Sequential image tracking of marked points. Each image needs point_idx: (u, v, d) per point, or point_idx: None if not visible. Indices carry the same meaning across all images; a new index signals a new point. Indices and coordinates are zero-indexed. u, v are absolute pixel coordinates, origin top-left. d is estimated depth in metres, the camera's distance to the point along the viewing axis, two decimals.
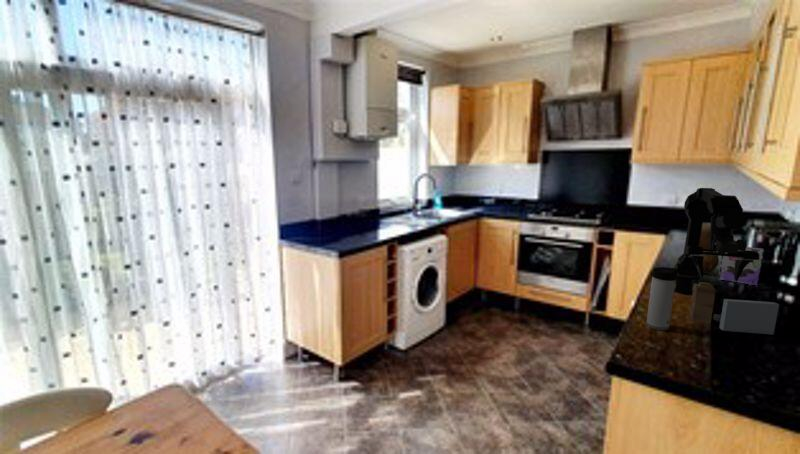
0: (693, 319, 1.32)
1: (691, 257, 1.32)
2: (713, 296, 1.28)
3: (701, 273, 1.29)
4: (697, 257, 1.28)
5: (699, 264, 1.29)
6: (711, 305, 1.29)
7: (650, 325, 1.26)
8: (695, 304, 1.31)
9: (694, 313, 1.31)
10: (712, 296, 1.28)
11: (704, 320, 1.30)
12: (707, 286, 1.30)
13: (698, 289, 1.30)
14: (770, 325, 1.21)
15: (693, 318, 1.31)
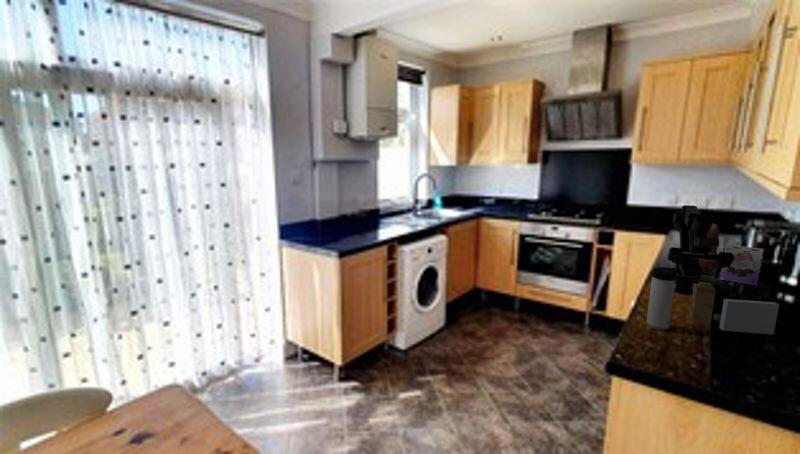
0: (693, 319, 1.32)
1: (674, 260, 1.45)
2: (713, 296, 1.28)
3: (684, 270, 1.40)
4: (678, 255, 1.42)
5: (681, 262, 1.41)
6: (711, 305, 1.29)
7: (650, 325, 1.26)
8: (695, 304, 1.31)
9: (694, 313, 1.31)
10: (712, 296, 1.28)
11: (704, 320, 1.30)
12: (707, 286, 1.30)
13: (698, 289, 1.30)
14: (770, 325, 1.21)
15: (693, 318, 1.31)
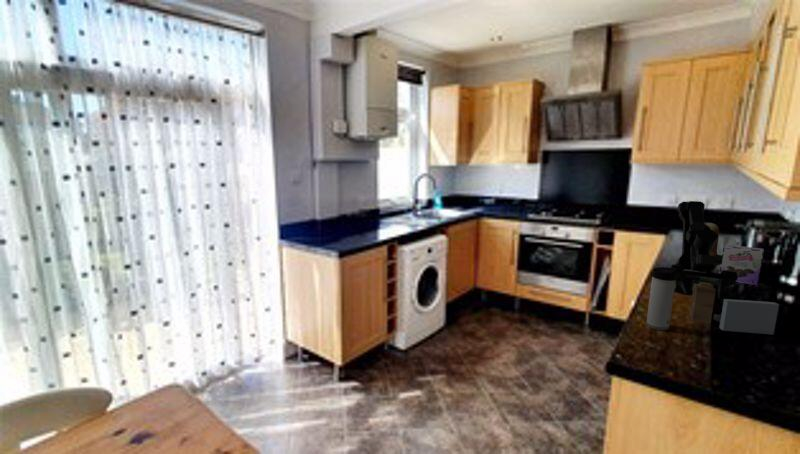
0: (693, 319, 1.32)
1: None
2: (713, 296, 1.28)
3: (685, 289, 1.34)
4: (680, 273, 1.36)
5: (682, 280, 1.36)
6: (711, 305, 1.29)
7: (650, 325, 1.26)
8: (695, 304, 1.31)
9: (694, 313, 1.31)
10: (712, 296, 1.28)
11: (704, 320, 1.30)
12: (707, 286, 1.30)
13: (698, 289, 1.30)
14: (770, 325, 1.21)
15: (693, 318, 1.31)
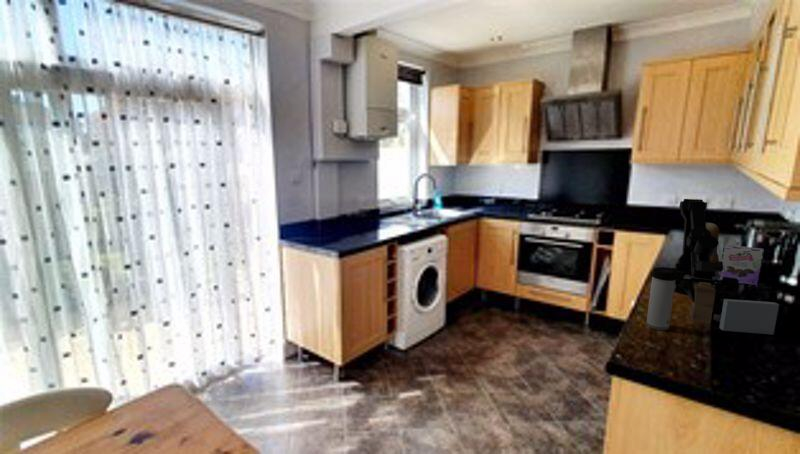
0: (693, 319, 1.32)
1: (682, 285, 1.37)
2: (713, 296, 1.28)
3: (692, 297, 1.32)
4: (687, 280, 1.34)
5: (690, 288, 1.33)
6: (711, 305, 1.29)
7: (650, 325, 1.26)
8: (695, 304, 1.31)
9: (694, 313, 1.31)
10: (712, 296, 1.28)
11: (704, 320, 1.30)
12: (707, 286, 1.30)
13: (698, 289, 1.30)
14: (770, 325, 1.21)
15: (693, 318, 1.31)
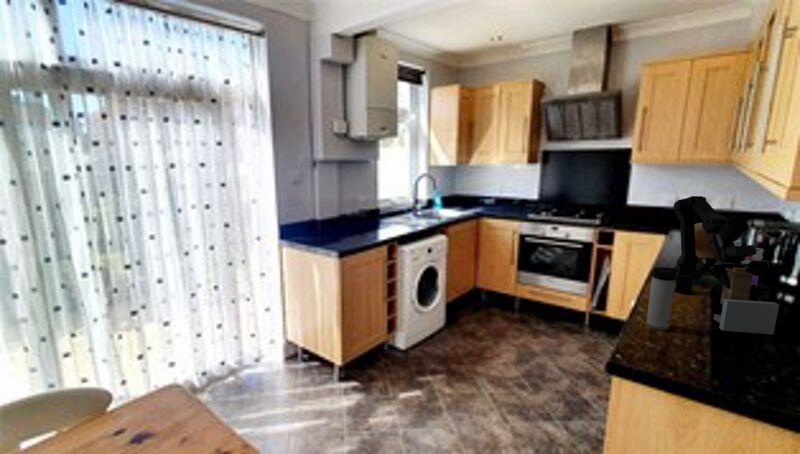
0: None
1: (712, 272, 1.31)
2: (750, 281, 1.23)
3: (728, 283, 1.26)
4: (720, 266, 1.28)
5: (723, 274, 1.28)
6: (748, 291, 1.24)
7: (650, 325, 1.26)
8: (732, 291, 1.25)
9: None
10: (749, 281, 1.23)
11: None
12: (742, 271, 1.25)
13: (735, 275, 1.24)
14: (770, 325, 1.21)
15: None
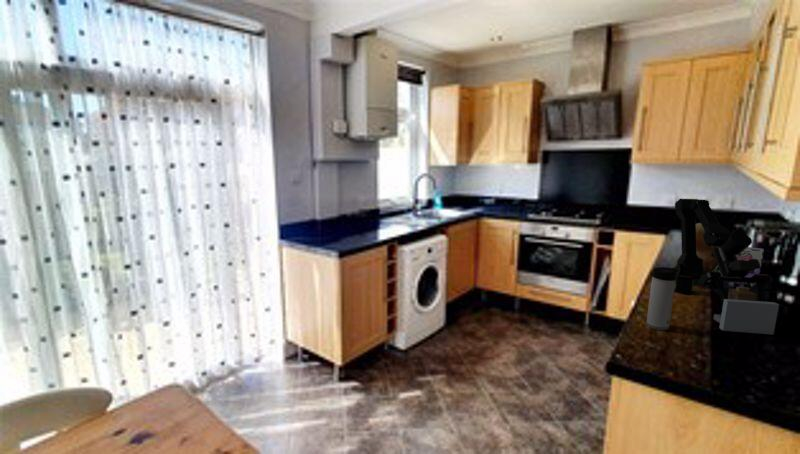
0: None
1: (709, 285, 1.32)
2: None
3: (726, 297, 1.27)
4: (718, 280, 1.28)
5: (721, 288, 1.28)
6: None
7: (650, 325, 1.26)
8: None
9: None
10: None
11: None
12: (745, 290, 1.26)
13: (739, 294, 1.24)
14: (770, 325, 1.21)
15: None
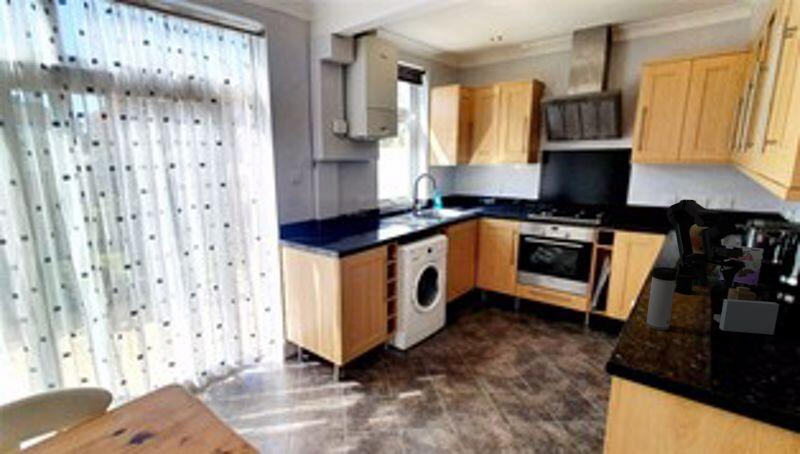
0: None
1: (692, 265, 1.40)
2: None
3: (705, 279, 1.36)
4: (703, 263, 1.36)
5: (703, 270, 1.37)
6: None
7: (650, 325, 1.26)
8: None
9: None
10: None
11: None
12: (746, 291, 1.26)
13: (740, 295, 1.24)
14: (770, 325, 1.21)
15: None
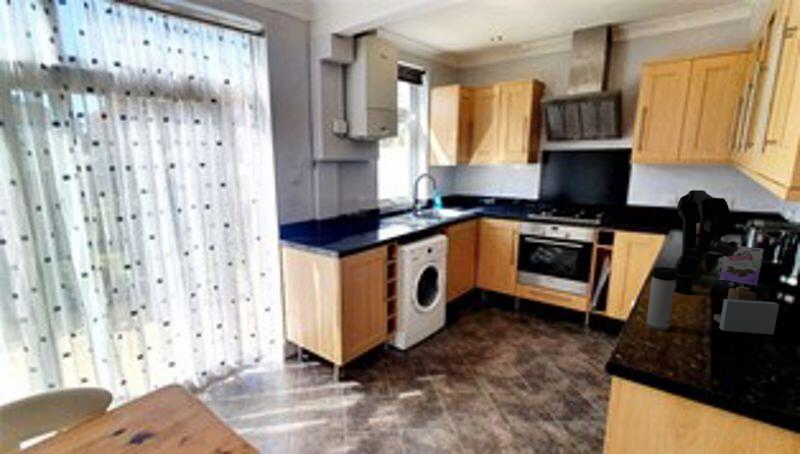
0: None
1: (689, 257, 1.39)
2: None
3: (697, 272, 1.39)
4: (703, 260, 1.36)
5: (699, 265, 1.38)
6: None
7: (650, 325, 1.26)
8: None
9: None
10: None
11: None
12: (746, 291, 1.26)
13: (740, 295, 1.24)
14: (770, 325, 1.21)
15: None
